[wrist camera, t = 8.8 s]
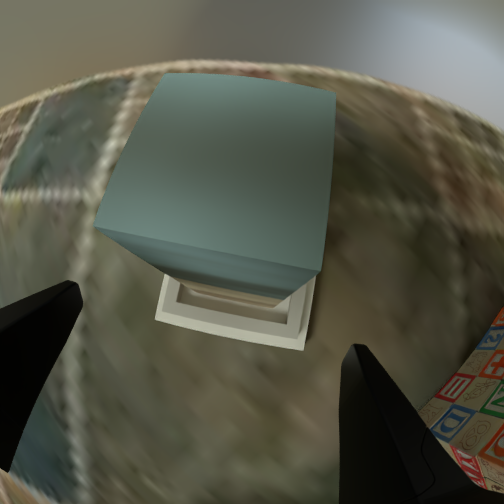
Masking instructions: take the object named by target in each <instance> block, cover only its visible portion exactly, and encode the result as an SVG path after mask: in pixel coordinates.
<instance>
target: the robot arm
mask: <svg viewBox="0 0 504 504" xmlns="http://www.w3.org/2000/svg"><path fill="white" fill-rule="evenodd" d="M82 307H83V299H82V295H81V292H80V288H79V285H78V284H77V283H76V282H73V281H70V280H67V281H64V282H62V283H59V284H57V285H54V286H52V287H49V288H47V289H45V290H42V291H40V292H38V293H35V294H33V295H31V296H28V297H26V298H24V299H21V300H19V301H17V302H14V303H12V304H10V305H8V306H5V307H3V308H1V309H0V468H1V469H2V470H4V471H5V472H7V473H8V472H9V470H10V467H11V464H12V461H13V458H14V455H15V452H16V449H17V447H18V444H19V441H20V439H21V436H22V433H23V430H24V428H25V426H26V423H27V421H28V418H29V416H30V414H31V411H32V409H33V407H34V405H35V403H36V400H37V398H38V396H39V394H40V392H41V390H42V388H43V386H44V384H45V382H46V380H47V378H48V376H49V374H50V372H51V370H52V368H53V366H54V364H55V362H56V360H57V358H58V356H59V355H60V353H61V351H62V349H63V347H64V346H65V344H66V342H67V340H68V337H69V335H70V333H71V331H72V329H73V326H74V324H75V322H76V320H77V318H78V316H79V314H80V312H81V310H82ZM426 426H427V425H426V424H425V422H424V421H423V419H422V418H421V417H420V415H419V414H418V413H417V411H416V410H415V409H414V407H413V406H412V405H411V403H410V402H409V401H408V399H407V398H406V397H405V395H404V394H403V393H402V391H401V390H400V389H399V387H398V386H397V385H396V383H395V382H394V381H393V379H392V378H391V377H390V376H389V374H388V373H387V372H386V370H385V369H384V368H383V366H382V365H381V364H380V363H379V361H378V360H377V359H376V357H375V356H374V355H373V354H372V352H371V351H370V350H369V348H368V347H367V346H366V345H364V344H352V345H351V347H350V349H349V350H348V352H347V354H346V356H345V358H344V359H343V362H342V366H341V382H340V398H339V440H340V479H339V504H504V493H500V492H496V491H491V490H487V489H484V488H482V487H480V486H478V485H477V484H476V483H474V482H473V481H472V480H471V479H470V477H469V476H468V475H467V474H466V473H465V472H464V471H463V470H462V468H461V467H460V466H459V465H458V464H457V463H456V462H455V460H454V459H453V458H452V457H451V456H450V455H449V453H448V452H447V451H446V450H445V449H444V448H443V446H442V445H441V444H440V442H439V441H438V440H437V438H436V437H435V436H434V434H433V433H432V432H431V430H430V429H429V427H426Z"/></svg>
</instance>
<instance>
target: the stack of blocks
mask: <svg viewBox="0 0 504 504" xmlns="http://www.w3.org/2000/svg"><path fill="white" fill-rule="evenodd" d="M418 414H419V415H420V417H421V418H422V419H423V421H424V422H425V424H426V425H427V426H426V427H429V429H430V430H431V432H432V433H433V434H434V436H435V437H436V438H437V440H438V441H439V442H440V444H441V445H442V446H443V448H444V449H445V450H446V451H447V452H448V453H449V455H450V456H451V457H452V458H453V459H454V460H455V462H456V463H457V464H458V465H459V466H460V467H461V468H462V470H463V471H464V472H465V473H466V474H467V475H468V476H469V477H470V479H471V480H472V481H473V482H474V483H476V484H477V485H478V486H480V487H482V488H484V489H487V490H491V491H496V492H500V493H504V306H503V307H502V309H501V310H500V312H499V314H498V315H497V317H496V318H495V320H494V321H493V323H492V324H491V327H490V328H489V330H488V331H487V333H486V334H485V336H484V337H483V338H482V340H481V341H480V343H479V344H478V345H477V347H476V348H475V350H474V351H473V352H472V354H471V355H470V356H469V358H468V359H467V360H466V361H465V363H464V364H463V365H462V366H461V368H460V369H459V370H458V372H457V373H455V374H454V375H453V376H452V378H451V379H450V380H449V381H448V382H447V383H446V384H445V385H444V387H443V388H442V389H441V390H440V391H439V392H438V393H437V394H436V395H435V396H434V397H433V398H432V399H431V400H430V401H429V402H428V403H427V404H426V405H425V406H424V407H423V408H422V409H421V410H420V411H419V412H418Z"/></svg>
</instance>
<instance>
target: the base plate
mask: <svg viewBox="0 0 504 504" xmlns="http://www.w3.org/2000/svg"><path fill="white" fill-rule="evenodd" d="M315 279H316V276H314V277H313V278H312V279H311V280H309V281H308V282H307V283H306V284H304V285H303V286H302V287H300V288H299V289H298V290H296V291H295V292H294V293H293V294H291V295H290V296H289V297H287V298H286V299H285V300H283V301H282V302H281V303H279V304H278V305H277V306H275V307H274V308H273V309H272V308H267V307H262V306H257V305H251V304H246V303H242V302H237V301H232V300H227V299H222V298H218V297H213V296H209V295H204V294H200V293H197V292H195V291H193V290H191V289H190V288H188V287H186V286H185V285H183V284H181V283H180V282H178V281H176V280H175V279H173V278H172V277H170V276H168V275H167V274H165V276H164V280H163V284H162V289H161V293H160V297H159V302H158V306H157V311H156V316H155V320H158V321H162V322H165V323H169V324H173V325H177V326H181V327H185V328H189V329H193V330H197V331H202V332H206V333H210V334H215V335H219V336H224V337H229V338H234V339H239V340H244V341H249V342H254V343H260V344H265V345H271V346H277V347H283V348H290V349H296V350H304V344H305V339H306V334H307V328H308V323H309V317H310V311H311V305H312V299H313V293H314V286H315Z"/></svg>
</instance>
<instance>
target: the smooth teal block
mask: <svg viewBox="0 0 504 504" xmlns="http://www.w3.org/2000/svg"><path fill="white" fill-rule="evenodd" d="M335 114H336V93H335V92H331V91H327V90H322V89H318V88H313V87H308V86H303V85H298V84H293V83H287V82H281V81H275V80H268V79H260V78H252V77H243V76H232V75H219V74H198V73H165V74H164V76H163V77H162V79H161V81H160V82H159V84H158V85H157V87H156V89H155V90H154V92H153V94H152V96H151V97H150V99H149V101H148V102H147V104H146V106H145V108H144V110H143V111H142V113H141V115H140V117H139V119H138V121H137V123H136V125H135V127H134V129H133V131H132V132H131V134H130V137H129V139H128V141H127V143H126V145H125V147H124V149H123V151H122V153H121V155H120V158H119V160H118V162H117V164H116V167H115V169H114V171H113V174H112V176H111V178H110V181H109V183H108V186H107V188H106V191H105V193H104V196H103V199H102V201H101V204H100V207H99V209H98V212H97V215H96V218H95V221H94V224H93V227H95V228H96V229H98V230H99V231H101V232H102V233H103V234H105V235H106V236H108V237H109V238H111V239H112V240H114V241H115V242H117V243H118V244H120V245H121V246H123V247H124V248H126V249H127V250H129V251H130V252H132V253H133V254H135V255H137V256H138V257H140V258H141V259H143V260H144V261H146V262H147V263H149V264H151V265H152V266H154V267H155V268H157V269H159V270H160V271H162V272H163V273H165V274H167V275H168V276H170V277H172V278H173V279H175V280H176V281H178V282H180V283H181V284H183V285H185V286H186V287H188V288H190V289H191V290H193V291H195V292H197V293H200V294H204V295H209V296H213V297H218V298H222V299H227V300H232V301H237V302H242V303H246V304H251V305H257V306H262V307H267V308H272V309H273V308H274V307H275V306H277V305H278V304H279V303H281V302H282V301H283V300H285V299H286V298H287V297H289V296H290V295H291V294H293V293H294V292H295V291H296V290H298V289H299V288H300V287H302V286H303V285H304V284H306V283H307V282H308V281H309V280H311V279H312V278H313V277H314V276H316V275H317V274H318V273H319V272H321V268H322V260H323V253H324V246H325V238H326V229H327V221H328V211H329V202H330V191H331V180H332V167H333V153H334V136H335Z"/></svg>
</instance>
